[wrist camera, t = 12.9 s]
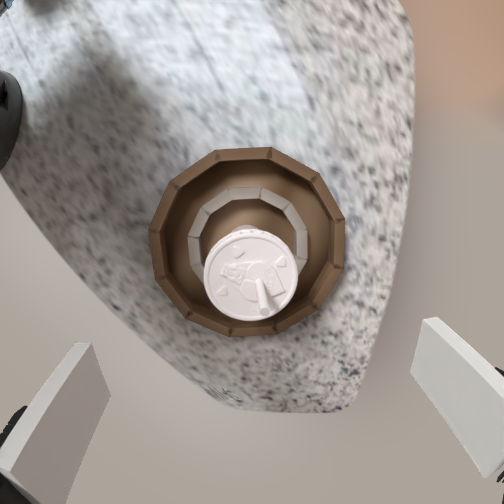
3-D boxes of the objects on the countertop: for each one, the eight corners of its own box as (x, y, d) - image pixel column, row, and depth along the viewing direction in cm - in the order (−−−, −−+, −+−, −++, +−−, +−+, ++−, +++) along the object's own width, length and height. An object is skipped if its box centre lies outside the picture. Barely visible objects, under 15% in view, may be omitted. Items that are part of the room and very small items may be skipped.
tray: (134, 279, 30) (125, 289, 28) (206, 119, 26) (203, 114, 24) (282, 345, 33) (285, 359, 31) (365, 204, 29) (376, 208, 27)
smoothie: (265, 283, 30) (285, 369, 17) (204, 262, 29) (180, 338, 16) (289, 224, 29) (334, 273, 15) (226, 201, 28) (216, 231, 14)
